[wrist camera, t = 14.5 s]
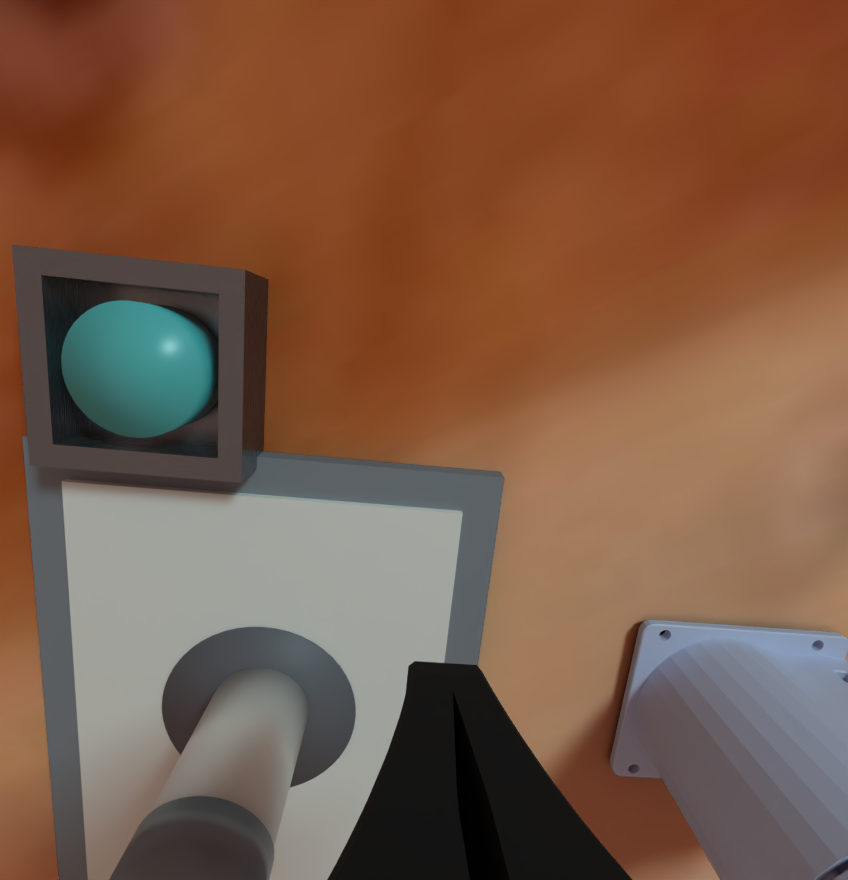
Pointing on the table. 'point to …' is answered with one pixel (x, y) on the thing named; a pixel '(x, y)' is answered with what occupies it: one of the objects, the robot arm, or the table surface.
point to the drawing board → (245, 627)
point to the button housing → (156, 282)
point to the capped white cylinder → (225, 787)
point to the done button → (140, 367)
